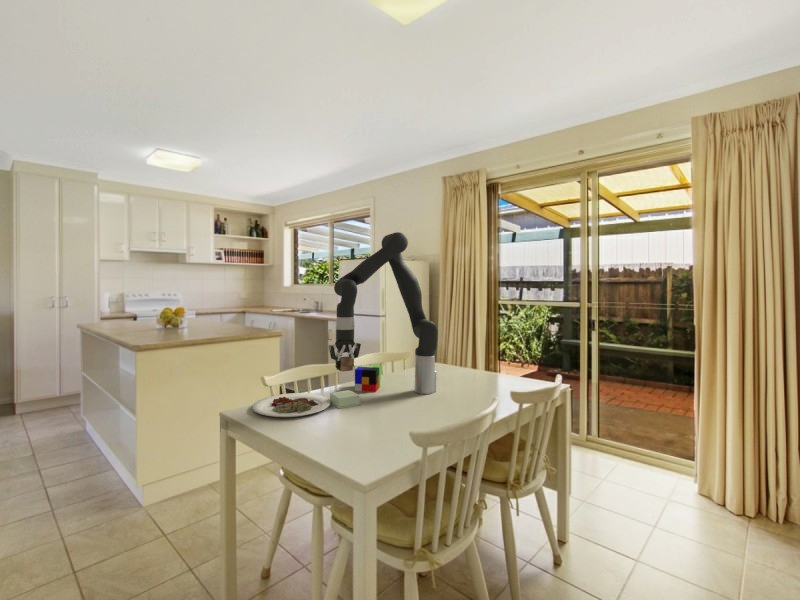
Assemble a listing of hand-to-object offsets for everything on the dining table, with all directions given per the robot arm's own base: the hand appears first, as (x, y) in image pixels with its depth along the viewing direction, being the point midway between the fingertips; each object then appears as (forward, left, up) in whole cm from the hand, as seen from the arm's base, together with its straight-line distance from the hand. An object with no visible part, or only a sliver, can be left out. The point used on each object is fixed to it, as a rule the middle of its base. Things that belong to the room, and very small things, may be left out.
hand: (344, 368), depth 168 cm
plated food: (+20, -6, -15) cm, 26 cm away
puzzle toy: (-20, -16, -15) cm, 30 cm away
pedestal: (0, 0, -15) cm, 15 cm away
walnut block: (0, 0, 0) cm, 0 cm away
